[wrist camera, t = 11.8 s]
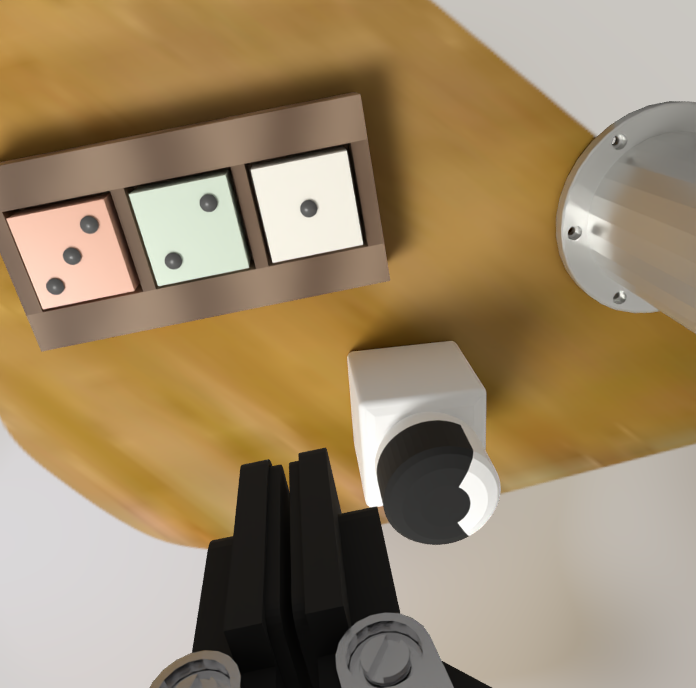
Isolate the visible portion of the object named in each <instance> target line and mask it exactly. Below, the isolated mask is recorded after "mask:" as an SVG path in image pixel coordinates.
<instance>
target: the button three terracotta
mask: <svg viewBox="0 0 696 688" xmlns="http://www.w3.org/2000/svg"><path fill="white" fill-rule="evenodd" d="M7 222H8V224H9V227H10V229H11V232H12V234H13V237H14V239H15V242H16V244H17V246H18V249H19V251H20V254H21V256H22V259H23V261H24V264H25V266H26V269H27V271H28V274H29V276H30V279H31V281H32V284H33V286H34V288H35V291H36V293H37V296H38V298H39V301H40V303H41V306H42V308H43V309H47V308H52V307H57V306H62V305H67V304H72V303H77V302H82V301H87V300H92V299H97V298H102V297H107V296H112V295H117V294H122V293H127V292H132V291H135V289H136V288H137V286H138V285H139V283H140V280H139V277H138V274H137V271H136V268H135V265H134V262H133V259H132V256H131V253H130V250H129V247H128V244H127V241H126V238H125V235H124V232H123V229H122V226H121V223H120V220H119V216H118V213H117V210H116V207H115V204H114V201H113V198H112V195H111V192H107V193H102V194H97V195H92V196H87V197H82V198H77V199H72V200H67V201H62V202H57V203H52V204H47V205H42V206H37V207H32V208H27V209H23V210H21V211H19V212H18V213H16V214H14V215H12V216H10V217H9V218H7Z"/></svg>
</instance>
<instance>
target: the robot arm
mask: <svg viewBox="0 0 696 688" xmlns="http://www.w3.org/2000/svg"><path fill="white" fill-rule="evenodd" d="M614 137H615V138H616V140H615V143H614V144H612V140H613V138H614ZM571 227H572V231H571V232H570V233H568V230H569V229H570V228H571ZM556 239H557V244H558V249H559V254H560V257H561V259H562V262H563V264H564V266H565V269H566V271H567V272H568V274H569V275H570V276H571V278H572V279H573V281H574V282H575V283H576V285H578V286H579V287H580V288H581V289H582V290H583V291H584V292H586V293H587V294H588V295H589V296H591V297H592V298H594V299H595V300H597V301H598V302H600V303H601V304H603V305H605V306H608V307H610V308H612V309H615V310H620V311H626V312H631V313H652V312H657V311H661V312H663V313H664V314H666V315H667V316H669V317H670V318H672V319H674V320H675V321H677V322H678V323H680V324H681V325H683V326H684V327H686V328H688V329H689V330H691V331H692V332H694V333H695V334H696V103H695V102H672V101H669V102H664V103H659V104H654V105H649V106H646V107H644V108H642V109H639V110H636V111H634V112H632V113H629V114H628V115H626V116H624V117H622V118H621V119H619V120H618V121H616V122H615V123H613V124H611V125H610V126H609V127H607V128H606V129H605V130H604V131H603V132H602V133H601V134H600V135H598V136H597V137H596V138H595V139H594V140H593V141H592V142H591V143H590V145H589V146H588V147H587V148H586V149H585V151H584V152H583V153H582V154H581V156H580V157H579V158H578V160H577V161H576V163H575V165H574V167H573V168H572V170H571V172H570V174H569V175H568V177H567V180H566V182H565V185H564V188H563V190H562V193H561V196H560V199H559V205H558V210H557V215H556ZM615 294H616V295H615ZM614 295H615V296H614ZM289 484H290V493H289V489H288V485H287V481H286V478H285V474H284V470H283V467H282V465H276V466H272V464H271V461H270V460H269V459H268V460H263V461H258V462H254V463H249V464H244V465H241V468H240V477H239V487H238V496H237V506H236V516H235V525H234V535H233V536H232V537H227V538H222V539H217V540H212V541H211V542H210V543H209V547H208V552H207V559H206V565H205V572H204V578H203V585H202V591H201V598H200V605H199V611H198V618H197V624H196V630H195V637H194V643H193V650H192V653H190V654H188V655H186V656H184V657H182V658H180V659H178V660H176V661H175V662H173V663H172V664H170V665H169V666H168V667H167V668H165V669H164V670H163V671H162V672H161V673H160V674H159V675H158V677H157V678H156V679H155V680H154V681H153V682H152V684H151V686H150V688H492V687H490V686H488V685H486V684H484V683H482V682H480V681H478V680H477V679H475V678H473V677H471V676H469V675H467V674H465V673H464V672H462V671H460V670H458V669H456V668H454V667H452V666H450V665H448V664H447V663H445V662H443V661H441V659H440V656H439V654H438V652H437V650H436V648H435V646H434V644H433V641H432V639H431V637H430V635H429V634H428V632H427V631H426V629H425V628H424V626H423V625H421V624H420V623H419V622H417V621H416V620H414V619H413V618H411V617H408V616H405V615H402V614H400V610H399V605H398V601H397V596H396V591H395V587H394V582H393V578H392V573H391V568H390V564H389V559H388V554H387V550H386V545H385V541H384V536H383V531H382V527H381V522H380V517H379V513H378V508H377V506H376V507H371V508H366V509H362V510H357V511H352V512H347V513H341V509H340V504H339V500H338V496H337V491H336V487H335V483H334V478H333V474H332V470H331V465H330V461H329V457H328V452H327V449H326V448H322V449H317V450H312V451H307V452H302V453H299V461H295V462H290V463H289Z"/></svg>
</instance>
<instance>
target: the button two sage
mask: <svg viewBox="0 0 696 688" xmlns="http://www.w3.org/2000/svg"><path fill="white" fill-rule="evenodd" d="M129 197H130V200H131V203H132V206H133V209H134V212H135V215H136V219H137V222H138V225H139V228H140V231H141V234H142V237H143V241H144V244H145V247H146V250H147V253H148V256H149V259H150V262H151V266H152V269H153V272H154V275H155V278H156V281H157V284H158V286H162V285H167V284H172V283H177V282H182V281H187V280H192V279H197V278H201V277H206V276H211V275H216V274H221V273H226V272H231V271H236V270H241V269H246V268H249V265H250V259H251V254H250V250H249V246H248V242H247V238H246V234H245V230H244V226H243V222H242V218H241V214H240V210H239V206H238V202H237V198H236V194H235V190H234V186H233V182H232V178H231V174H230V170H229V168H228V169H223V170H218V171H213V172H208V173H203V174H198V175H193V176H188V177H182V178H177V179H172V180H167V181H162V182H157V183H152V184H147V185H142V186H138V187H137V188H136V189H135V190H133V191H132V192H131V193H130V194H129Z"/></svg>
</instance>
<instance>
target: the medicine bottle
mask: <svg viewBox="0 0 696 688" xmlns="http://www.w3.org/2000/svg"><path fill="white" fill-rule="evenodd" d="M347 361H348V374H349V386H350V398H351V410H352V422H353V435H354V445H355V450H356V455H357V460H358V465H359V470H360V475H361V480H362V486H363V491H364V496H365V501H366V504H367V505H368V506H369V507H376V506H377V507H379V506H383V507H384V511H385V514H386V517H387V519H388V521H389V523H390V524H391V525H392V527H393V528H394V529H395V530H396V531H397V532H398V533H400V534H401V535H403V536H404V537H406V538H408V539H410V540H413V541H416V542H420V543H424V544H432V545H440V544H449V543H453V542H456V541H459V540H462V539H464V538H466V537H468V536H470V535H472V534H473V533H475V532H476V531H477V530H479V529H480V528H481V527H482V526H483V525H484V524H485V523H486V522H487V521H488V519H489V518H490V517H491V516H492V514H493V512H494V511H495V509H496V507H497V504H498V501H499V498H500V490H501V487H500V480H499V476H498V474H497V472H496V469H495V468H494V466H493V464H492V462H491V460H490V458H489V456H488V454H487V453H486V451H485V447H486V390H485V388H484V386H483V385H482V383H481V382H480V380H479V378H478V377H477V375H476V374H475V372H474V371H473V369H472V367H471V366H470V364H469V363H468V361H467V360H466V358H465V356H464V355H463V353H462V352H461V350H460V348H459V347H458V345H457V344H456V343H455V342H454V341H445V342H436V343H427V344H417V345H408V346H399V347H390V348H380V349H371V350H362V351H352V352H350V353H349V354H348V357H347Z"/></svg>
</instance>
